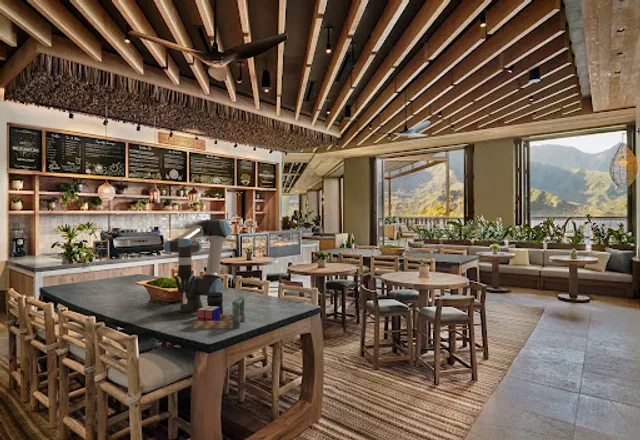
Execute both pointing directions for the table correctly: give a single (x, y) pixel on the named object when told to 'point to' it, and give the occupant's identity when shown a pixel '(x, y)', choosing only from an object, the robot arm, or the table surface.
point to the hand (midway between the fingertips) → (185, 303)
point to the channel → (226, 317)
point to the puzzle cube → (208, 313)
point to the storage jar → (215, 300)
